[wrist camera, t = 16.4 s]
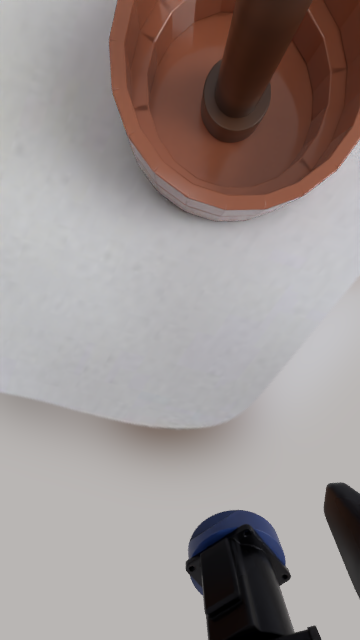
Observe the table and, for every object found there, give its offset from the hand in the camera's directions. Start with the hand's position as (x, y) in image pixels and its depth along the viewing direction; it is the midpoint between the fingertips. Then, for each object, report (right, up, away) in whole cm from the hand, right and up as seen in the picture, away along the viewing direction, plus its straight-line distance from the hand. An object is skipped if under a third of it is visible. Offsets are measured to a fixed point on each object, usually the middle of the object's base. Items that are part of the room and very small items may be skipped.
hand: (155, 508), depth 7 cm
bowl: (+4, +17, +10) cm, 20 cm away
